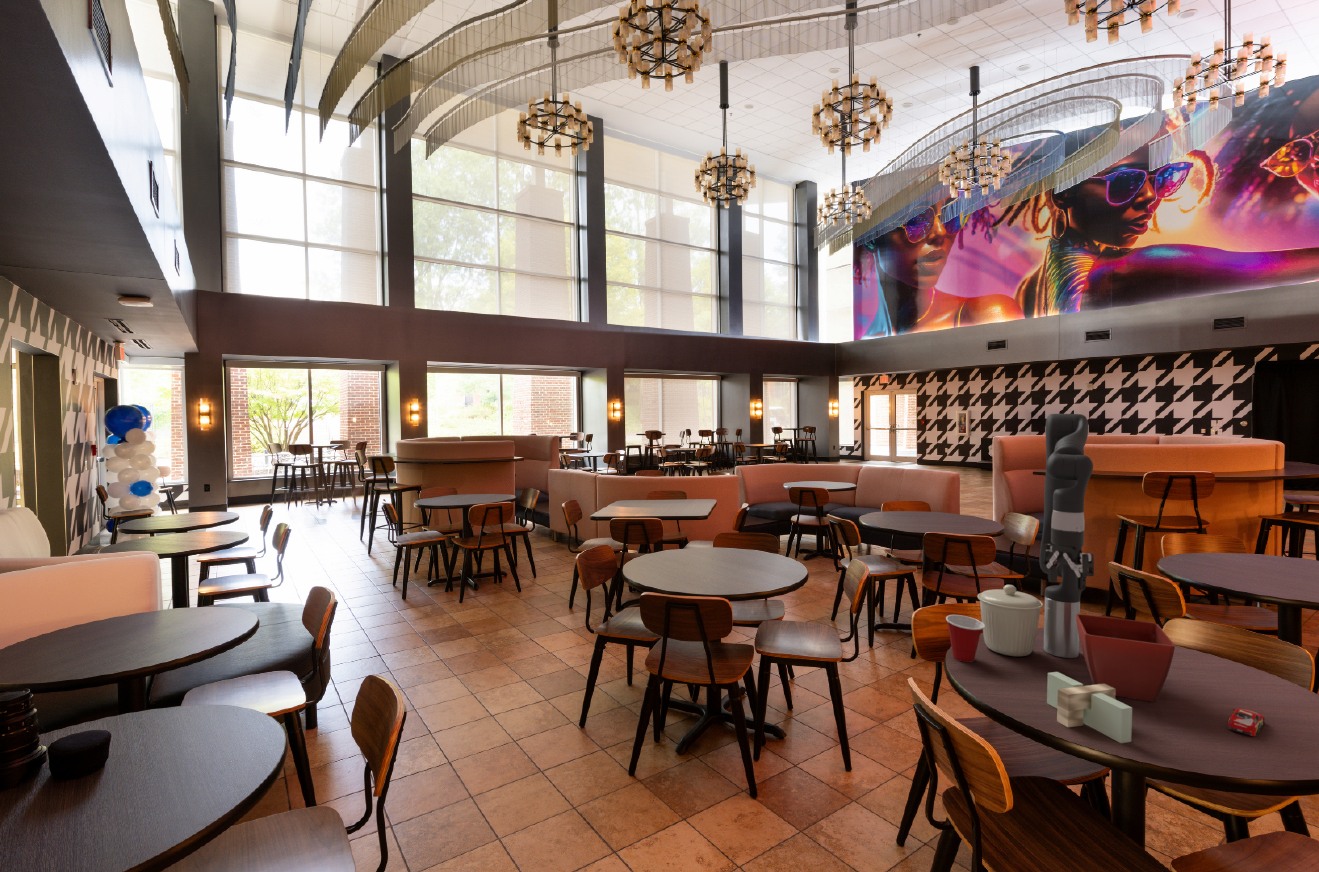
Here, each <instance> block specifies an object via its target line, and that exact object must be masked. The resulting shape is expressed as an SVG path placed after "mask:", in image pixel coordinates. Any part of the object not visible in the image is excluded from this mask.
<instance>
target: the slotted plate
mask: <svg viewBox="0 0 1319 872" xmlns="http://www.w3.org/2000/svg"><path fill="white" fill-rule="evenodd" d="M1115 691H1116V689H1115V688H1113V687H1110V686H1108V685H1106V684H1097V685H1093V684H1091V685H1083V686H1080V687H1072V688H1064V689H1058V702H1057V708H1056V709H1057V711H1056V712H1057V714H1056V722H1057V723H1059V724H1061V725H1063V726H1065V727H1066V728H1073V727H1080V726H1084V723H1083V709H1088V708H1091V700H1092V694H1098V693H1103V694H1105V695H1107V696H1109V697H1111V698H1113V699H1115V700H1116V696H1115Z"/></svg>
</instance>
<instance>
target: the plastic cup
mask: <svg viewBox="0 0 1319 872" xmlns="http://www.w3.org/2000/svg"><path fill="white" fill-rule="evenodd" d="M945 620H946V621H947V622H946V623H947V628H948V632H949V640H950V646H951V652H952V656H953V658H954V659H955V660H957V661H960V662H965V663H972V662H975V658H976V653H977V650H978V646H979V641H980V637H981V634H982V633H983V629H984V627H985V624H984V623H983V622H982V620H979V619H976V618H973V617H970V616H966V615H961V614H949V615H947V616H946V617H945Z"/></svg>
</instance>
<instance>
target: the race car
mask: <svg viewBox="0 0 1319 872" xmlns="http://www.w3.org/2000/svg"><path fill="white" fill-rule="evenodd" d="M1232 710H1233V713H1232V714H1231V715H1230V717H1229V719H1228V720H1227V729H1228V730H1231V731H1232V732H1237V733H1241V734H1243V735H1246V736H1251V737H1257V736H1258V735H1259V733H1260V731H1261V729H1262V728H1263V726H1264V725H1265V716H1264V715H1262V713H1258V712H1257V711H1254V710H1250V709H1246V708H1245V709H1244V708H1232Z"/></svg>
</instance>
